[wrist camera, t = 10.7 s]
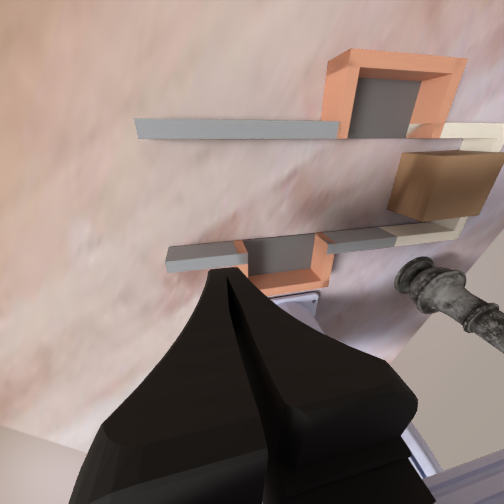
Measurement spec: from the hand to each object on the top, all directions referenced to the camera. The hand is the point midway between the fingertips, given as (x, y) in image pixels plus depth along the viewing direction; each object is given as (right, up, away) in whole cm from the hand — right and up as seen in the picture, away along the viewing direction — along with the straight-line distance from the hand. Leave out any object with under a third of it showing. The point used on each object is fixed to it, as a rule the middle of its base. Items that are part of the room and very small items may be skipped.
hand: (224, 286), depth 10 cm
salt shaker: (+21, -1, +17) cm, 27 cm away
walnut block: (+17, +8, +11) cm, 22 cm away
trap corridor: (+8, +7, +9) cm, 14 cm away
